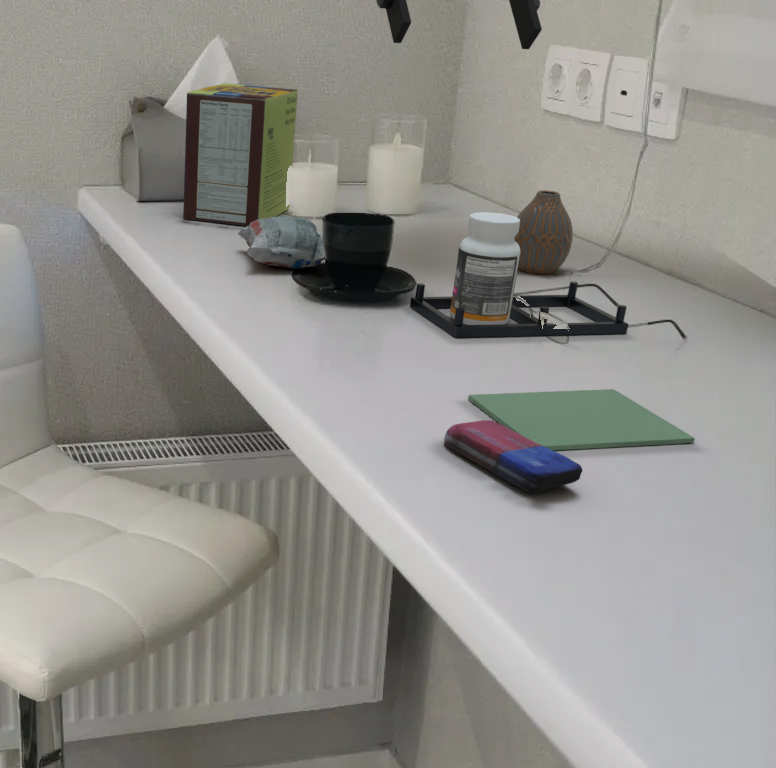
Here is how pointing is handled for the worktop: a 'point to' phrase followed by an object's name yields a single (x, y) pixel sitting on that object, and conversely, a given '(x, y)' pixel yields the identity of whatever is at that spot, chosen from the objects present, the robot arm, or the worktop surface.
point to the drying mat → (579, 419)
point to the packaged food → (284, 242)
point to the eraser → (512, 456)
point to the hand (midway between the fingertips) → (468, 36)
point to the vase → (544, 234)
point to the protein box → (238, 152)
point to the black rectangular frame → (522, 317)
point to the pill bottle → (487, 269)
